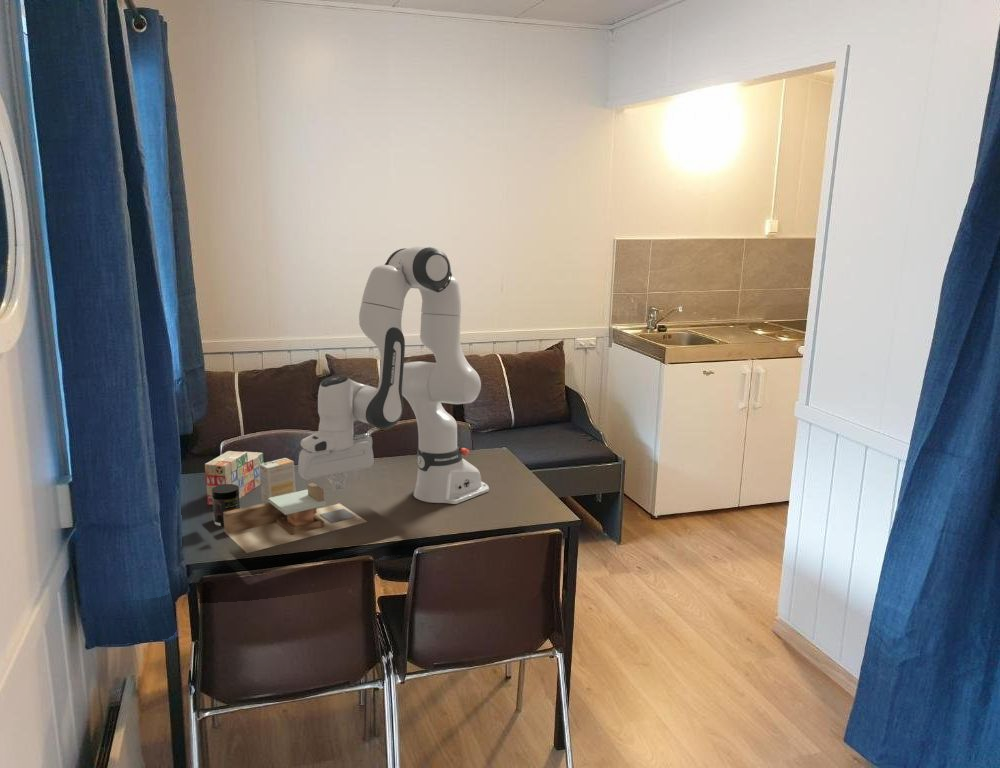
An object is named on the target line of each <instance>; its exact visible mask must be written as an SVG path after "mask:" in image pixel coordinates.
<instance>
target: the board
mask: <svg viewBox="0 0 1000 768" xmlns="http://www.w3.org/2000/svg"><path fill="white" fill-rule="evenodd" d="M223 517H224V526H223V528H224V530H223V532H224V533H225V534H226V535H227V536H228V537H229V538H230V539H231V540H232V541H234V542H235V543H236V544H237V545H238V546H239V547H240V548H241V549H242V550H243V551H244V552H245V553H246V554H250V553H253V552H257V551H261V550H264V549H267V548H268V549H269V548H272V547H275V546H279V545H283V544H284V545H285V544H288V543H290V542H295V541H299V540H303V539H307V538H310V537H314V536H318V535H322V534H326V533H329V532H334V531H338V530H341V529H345V528H349V527H353V526H354V527H355V526H357V525H360V524H365V523H368V521H367V520H365V518H363V517H361V516H360V515H358V514H357V513H355V512H354V511H352V510H350V509H349V508H347V507H346V506H344V505H343V504H341V503H336V504H332V505H331V504H330V505H326V506H322V507H317V508H313V518H314V522H313V523H309V524H305V525H301V526H297V527H292V526H290V525H289V524H288V523H287V515H285V514H284V513H282V512H281V511H280V510H278V509H277V508H276V507H274V506H273V505H272V504H271V503H269V502H267V503H262V502H261V503H258V504H253V505H250V506H245V507H240V509H235V510H231V511H226V512H223Z"/></svg>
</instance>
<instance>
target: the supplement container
mask: <svg viewBox="0 0 1000 768" xmlns="http://www.w3.org/2000/svg"><path fill="white" fill-rule="evenodd" d="M240 499H241V498H239V486H238V485H234V484H223V485H218V486H215V487H213V488H212V502H213V505H212V513H213V523H214V524H215V525H216V526H220V527H224V517H223V512H226V511H231V510H235V509H240V508H241V500H240Z"/></svg>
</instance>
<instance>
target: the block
mask: <svg viewBox="0 0 1000 768" xmlns="http://www.w3.org/2000/svg"><path fill="white" fill-rule="evenodd" d="M313 522H314V518H313V509H308V510H304V511H300V512H296V513H291V514H287V523H288V524H289V525H290V526H292V527H297V526H301V525H305V524H309V523H313Z"/></svg>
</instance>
